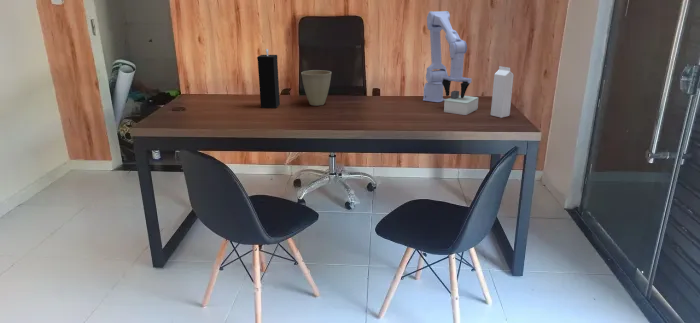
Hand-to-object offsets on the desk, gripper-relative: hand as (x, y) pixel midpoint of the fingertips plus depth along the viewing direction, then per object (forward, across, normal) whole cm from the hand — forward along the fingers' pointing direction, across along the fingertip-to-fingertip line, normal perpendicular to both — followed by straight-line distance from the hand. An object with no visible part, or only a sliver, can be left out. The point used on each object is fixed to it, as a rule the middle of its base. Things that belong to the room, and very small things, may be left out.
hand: (454, 96), depth 233 cm
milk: (+6, +22, +1) cm, 23 cm away
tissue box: (+6, -78, -44) cm, 90 cm away
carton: (+6, +4, 0) cm, 7 cm away
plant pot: (+6, -62, -27) cm, 68 cm away
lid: (+1, +4, 0) cm, 4 cm away
